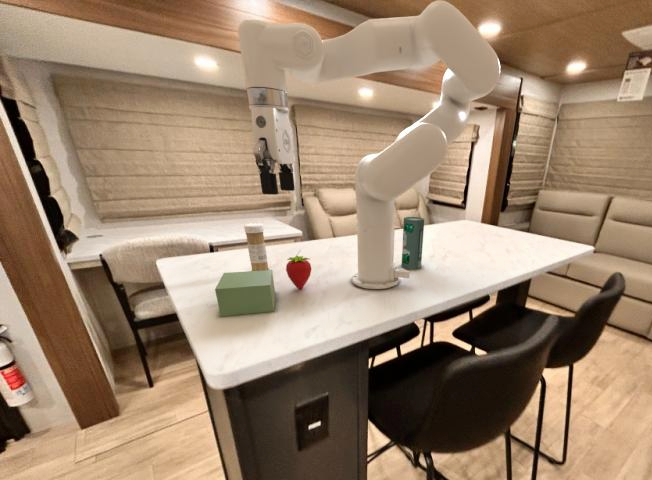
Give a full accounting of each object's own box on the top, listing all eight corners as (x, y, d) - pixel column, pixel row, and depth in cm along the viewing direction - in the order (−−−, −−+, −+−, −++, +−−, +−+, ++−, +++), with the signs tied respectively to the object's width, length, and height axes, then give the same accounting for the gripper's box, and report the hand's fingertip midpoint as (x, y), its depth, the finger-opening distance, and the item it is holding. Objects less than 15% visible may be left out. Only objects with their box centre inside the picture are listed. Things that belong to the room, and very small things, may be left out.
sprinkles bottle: (266, 268, 90) (259, 222, 85) (271, 273, 87) (265, 225, 82) (249, 271, 88) (241, 223, 82) (254, 276, 84) (246, 226, 79)
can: (402, 263, 101) (404, 216, 95) (421, 264, 101) (424, 217, 95) (400, 268, 96) (403, 219, 90) (420, 270, 95) (424, 220, 89)
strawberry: (312, 283, 81) (309, 245, 77) (313, 293, 75) (310, 253, 71) (288, 284, 80) (284, 246, 76) (287, 295, 73) (283, 254, 69)
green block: (275, 293, 74) (272, 269, 72) (273, 311, 65) (270, 285, 63) (228, 297, 71) (223, 272, 69) (220, 316, 62) (214, 289, 60)
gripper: (268, 94, 54) (281, 196, 61) (301, 109, 70) (308, 189, 77) (226, 93, 54) (243, 195, 61) (268, 109, 70) (278, 188, 77)
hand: (279, 192), depth 69 cm, fingers open, 9 cm apart
